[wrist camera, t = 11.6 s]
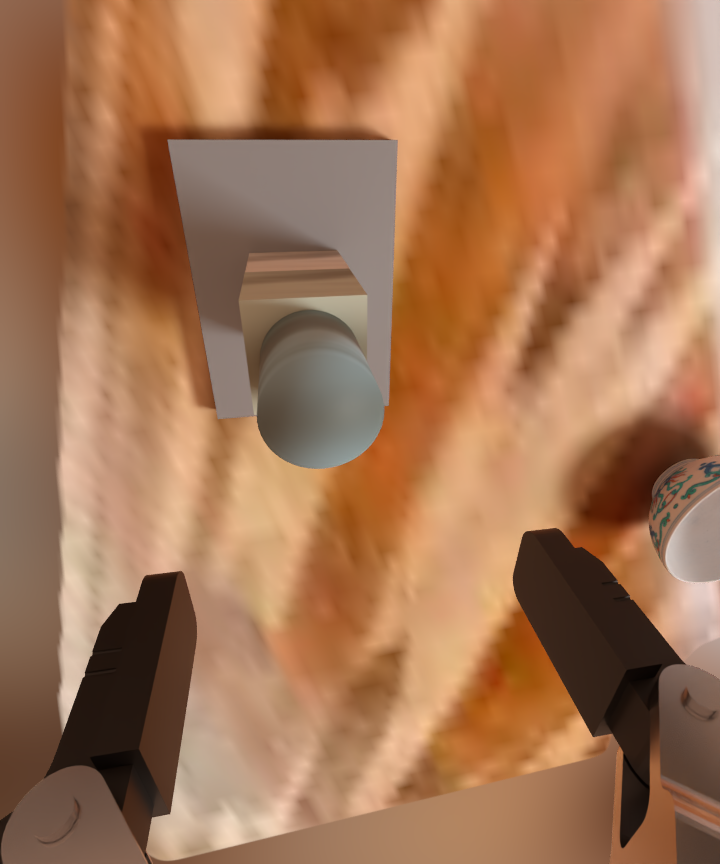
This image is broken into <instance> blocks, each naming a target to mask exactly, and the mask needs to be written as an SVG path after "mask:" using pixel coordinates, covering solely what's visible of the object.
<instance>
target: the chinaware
mask: <svg viewBox="0 0 720 864" xmlns="http://www.w3.org/2000/svg"><path fill="white" fill-rule="evenodd" d="M652 499H653V501H652V504H651V507H650V512H649V530H650V535H651V539H652V542H653V545H654V547H655V550H656V552H657V554H658V556H659V558H660V560H661V561H662V563H663V565H664V566H665V568H666V569H667V570H668V572H669V573H670V574H671V575H672V576H673V577H675V578H676V579H678V580H681V581H683V582H687V583H710V582H715V581H719V580H720V455H716V456H710V457H706V458H702V459H686V460H683V461H680V462H678V463H676V464H674V465H672V466H671V467H669V468H668V469H667V470H665V471H664V472H663V473H662V474H661V475H660V476H659V478H658V479H657V480H656V482H655V484H654V486H653V489H652Z"/></svg>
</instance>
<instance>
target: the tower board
mask: <svg viewBox="0 0 720 864" xmlns="http://www.w3.org/2000/svg"><path fill="white" fill-rule="evenodd" d="M397 143H398V140H168V146H169V151H170V157H171V163H172V168H173V174H174V179H175V185H176V190H177V196H178V201H179V207H180V212H181V218H182V223H183V229H184V234H185V240H186V245H187V251H188V256H189V262H190V268H191V273H192V279H193V284H194V290H195V295H196V301H197V306H198V312H199V317H200V323H201V328H202V334H203V339H204V345H205V350H206V356H207V361H208V367H209V372H210V378H211V384H212V389H213V395H214V400H215V406H216V411H217V417H218V419H224V418H237V417H250V416H257V415H254V411H253V403H252V396H251V389H250V381H249V374H248V366H247V359H246V352H245V344H244V337H243V329H242V322H241V315H240V307H239V296H240V292H241V287H242V283H243V278H244V274H245V270H246V266H247V261H248V256H249V253H267V252H299V251H331V250H337V251H338V252H339V254H340V255H341V256H342V258H343V259H344V261H345V262H346V264H347V265H348V267H349V268H350V270H351V271H352V273H353V274H354V276H355V277H356V279H357V280H358V282H359V283H360V285H361V286H362V288H363V289H364V291H365V292H366V293H367V363H368V365H369V367H370V369H371V371H372V374H373V376H374V378H375V380H376V382H377V385H378V387H379V389H380V391H381V394H382V397H383V402H384V406H389V380H390V350H391V321H392V291H393V261H394V232H395V202H396V172H397Z"/></svg>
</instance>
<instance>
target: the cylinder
mask: <svg viewBox="0 0 720 864" xmlns="http://www.w3.org/2000/svg"><path fill="white" fill-rule="evenodd" d="M383 419H384V402H383V397H382V394H381V391H380V389H379V387H378V385H377V382H376V380H375V378H374V376H373V374H372V371H371V369H370V367H369V365H368V363H367V361H366V358H365V356H364V354H363V352H362V350H361V348H360V345H359V343H358V341H357V339H356V337H355V335H354V333H353V332H352V330H351V329H350V328H349V326H348V325H347V324H346V323H345V322H343V321H342V320H341V319H339V318H338V317H336V316H334V315H332V314H330V313H327V312H323V311H318V310H302V311H298V312H294V313H291V314H289V315H287V316H285V317H283V318H282V319H280V320H279V321H277V322H276V323H275V324H274V325H273V326H272V327H271V329H270V330H269V331H268V333H267V334H266V336H265V338H264V340H263V343H262V346H261V351H260V365H259V383H258V402H257V423H258V428H259V431H260V433H261V436H262V438H263V440H264V441H265V443H266V444H267V446H268V447H269V448H270V449H271V450H272V451H273V452H274V453H275V454H276V455H278V456H279V457H280V458H282V459H283V460H285V461H287V462H289V463H291V464H294V465H297V466H300V467H305V468H314V469H322V468H330V467H335V466H339V465H342V464H344V463H347V462H349V461H351V460H353V459H355V458H356V457H358V456H359V455H361V454H362V453H363V452H364V451H365V450H367V448H368V447H369V446H370V445H371V444H372V443H373V441H374V440H375V439H376V437H377V435H378V433H379V431H380V429H381V426H382V423H383Z"/></svg>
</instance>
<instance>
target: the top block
mask: <svg viewBox="0 0 720 864" xmlns="http://www.w3.org/2000/svg"><path fill="white" fill-rule="evenodd" d="M239 307H240V315H241V322H242V329H243V337H244V344H245V352H246V359H247V366H248V374H249V381H250V389H251V396H252V403H253V411H254V415H257V402H258V383H259V365H260V351H261V346H262V343H263V340H264V338H265V336H266V334H267V333H268V331H269V330H270V329H271V327H272V326H273V325H274V324H275V323H276V322H277V321H279V320H280V319H282V318H283V317H285V316H287V315H289V314H291V313H294V312H298V311H302V310H318V311H323V312H327V313H330V314H332V315H334V316H336V317H338V318H339V319H341V320H342V321H343V322H345V323H346V324H347V325H348V326H349V328H350V329H351V330H352V332H353V333H354V335H355V337H356V339H357V341H358V343H359V345H360V348H361V350H362V352H363V354H364V356H365V358H366V361H367V293H366V292H365V291H364V289H363V288H362V286H361V285H360V283H359V282H358V280H357V279H356V277H355V276H354V274H353V273H352V271H351V270H350V269H349V268H347V269H320V270H292V271H265V272H245V274H244V278H243V283H242V287H241V292H240V296H239Z"/></svg>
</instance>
